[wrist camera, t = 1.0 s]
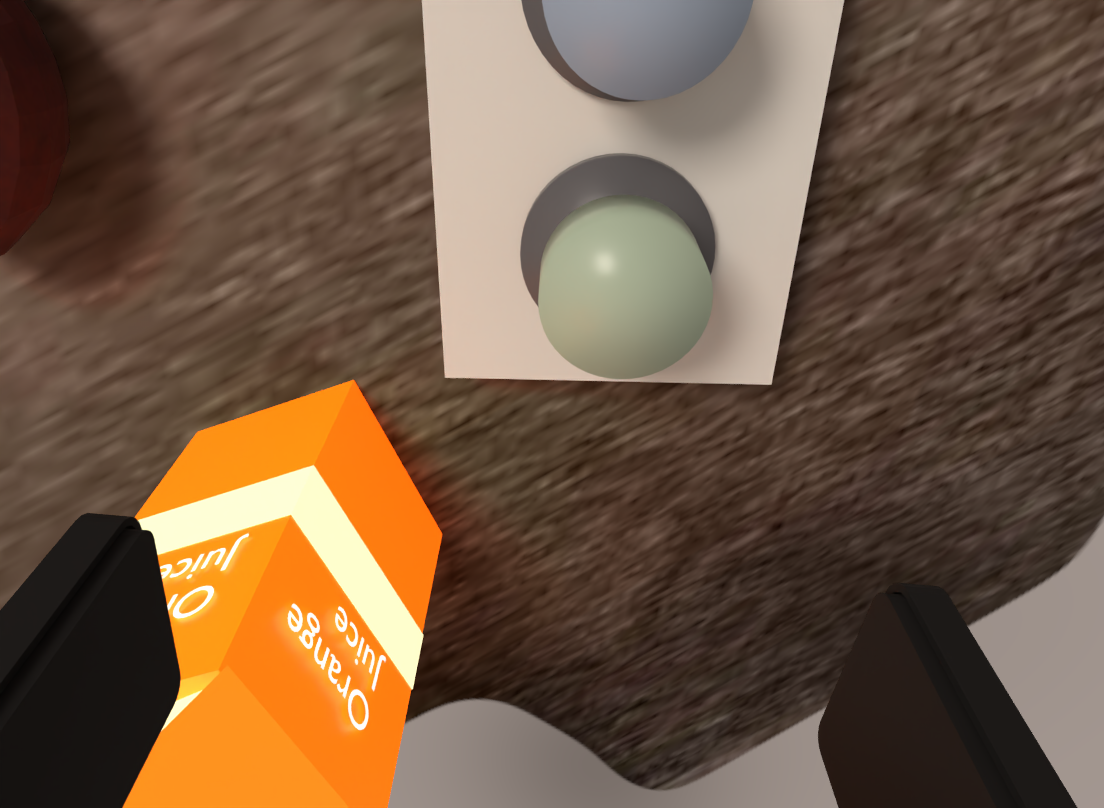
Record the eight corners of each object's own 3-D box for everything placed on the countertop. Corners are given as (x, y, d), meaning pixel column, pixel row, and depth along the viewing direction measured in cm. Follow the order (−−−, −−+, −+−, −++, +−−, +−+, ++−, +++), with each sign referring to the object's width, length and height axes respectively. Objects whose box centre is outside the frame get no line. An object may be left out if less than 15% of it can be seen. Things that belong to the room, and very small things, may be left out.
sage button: (710, 196, 23) (724, 220, 21) (691, 348, 25) (702, 380, 24) (541, 192, 23) (539, 216, 21) (539, 344, 25) (537, 377, 24)
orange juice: (298, 576, 37) (73, 1123, 20) (193, 431, 33) (-206, 968, 16) (447, 533, 36) (340, 1085, 19) (357, 376, 31) (113, 904, 14)
